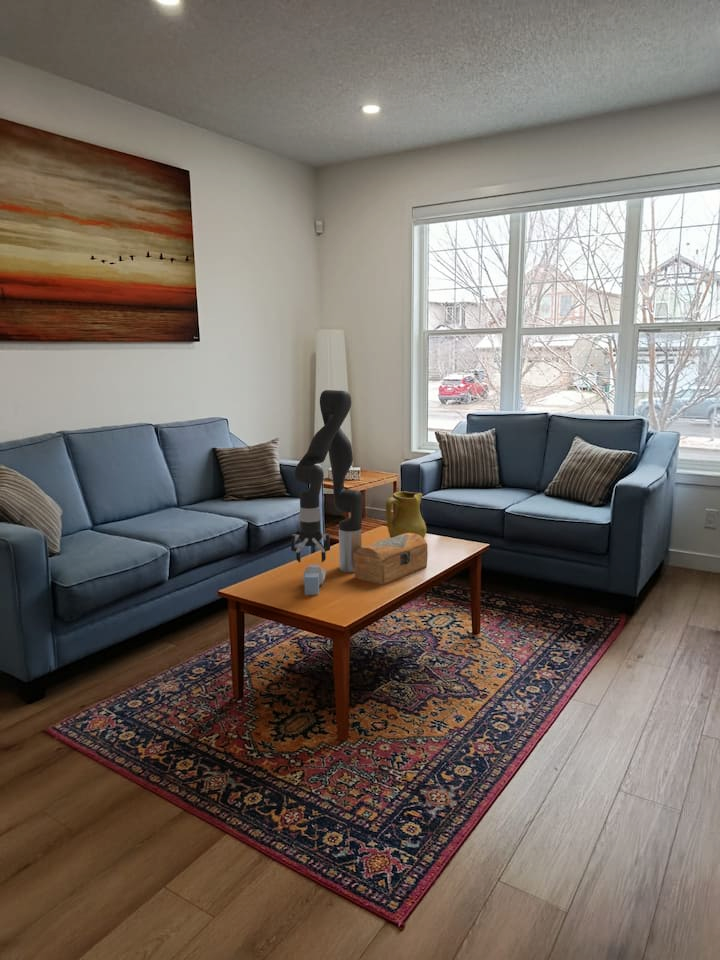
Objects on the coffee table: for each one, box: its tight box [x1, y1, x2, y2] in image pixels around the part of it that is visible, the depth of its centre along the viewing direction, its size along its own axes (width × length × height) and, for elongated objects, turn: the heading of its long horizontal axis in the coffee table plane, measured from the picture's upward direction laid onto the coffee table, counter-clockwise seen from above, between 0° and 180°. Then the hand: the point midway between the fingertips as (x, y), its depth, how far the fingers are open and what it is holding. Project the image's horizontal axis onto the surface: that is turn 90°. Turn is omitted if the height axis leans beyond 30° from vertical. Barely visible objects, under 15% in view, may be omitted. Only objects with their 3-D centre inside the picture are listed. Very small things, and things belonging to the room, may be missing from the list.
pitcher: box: [385, 490, 428, 539], centre depth 308 cm, size 17×19×25 cm
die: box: [301, 562, 327, 586], centre depth 257 cm, size 8×9×10 cm
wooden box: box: [353, 533, 429, 586], centre depth 272 cm, size 30×16×14 cm, turn 138°
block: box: [303, 573, 320, 596], centre depth 249 cm, size 5×5×7 cm
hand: (311, 561), depth 248 cm, fingers open, 8 cm apart
